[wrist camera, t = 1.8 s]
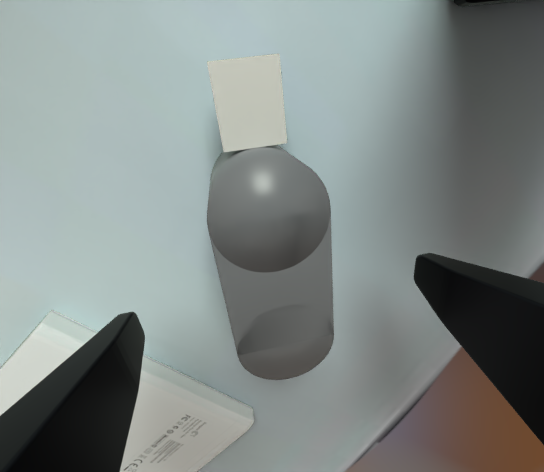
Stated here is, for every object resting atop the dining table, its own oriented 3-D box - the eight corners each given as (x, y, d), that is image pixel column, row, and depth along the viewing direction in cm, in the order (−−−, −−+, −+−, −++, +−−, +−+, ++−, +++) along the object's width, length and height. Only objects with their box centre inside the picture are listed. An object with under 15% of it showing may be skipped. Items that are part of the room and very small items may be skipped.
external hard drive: (57, 301, 13) (252, 400, 18) (-34, 405, 14) (170, 470, 20) (36, 326, 12) (255, 427, 17) (-63, 439, 13) (166, 499, 18)
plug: (309, 343, 16) (335, 411, 13) (246, 357, 16) (255, 431, 12) (287, 61, 10) (326, 39, 7) (186, 73, 10) (167, 56, 6)
